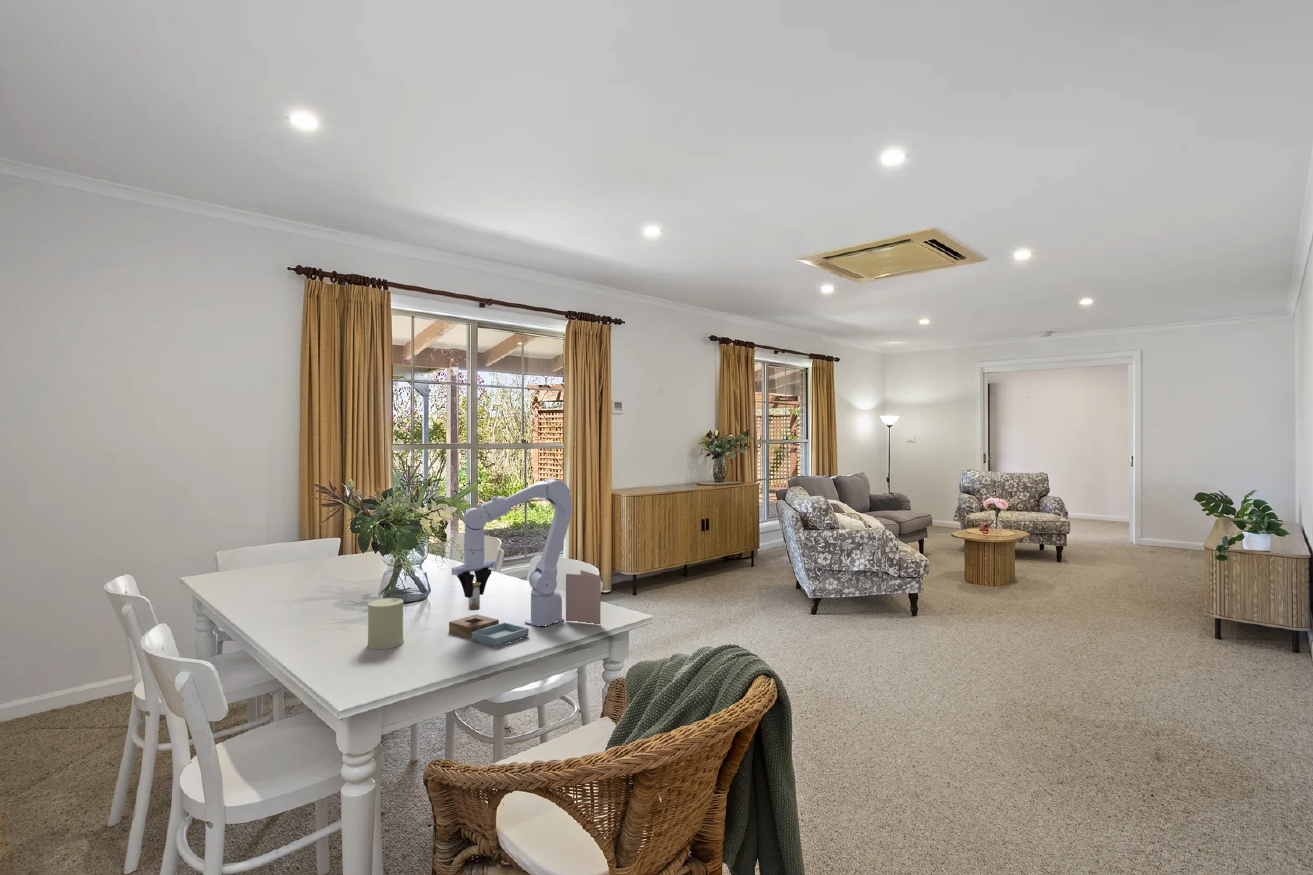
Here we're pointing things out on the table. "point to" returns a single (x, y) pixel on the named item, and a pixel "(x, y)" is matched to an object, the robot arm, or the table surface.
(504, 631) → the tray
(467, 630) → the pin stand
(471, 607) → the pin
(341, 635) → the table surface
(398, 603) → the can
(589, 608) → the greeting card
